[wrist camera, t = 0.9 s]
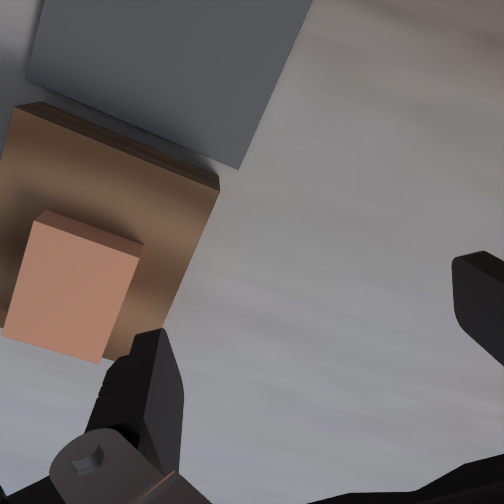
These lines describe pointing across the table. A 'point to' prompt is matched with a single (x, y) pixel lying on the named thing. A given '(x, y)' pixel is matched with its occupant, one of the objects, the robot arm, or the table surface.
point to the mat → (170, 64)
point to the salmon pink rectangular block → (70, 287)
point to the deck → (102, 206)
